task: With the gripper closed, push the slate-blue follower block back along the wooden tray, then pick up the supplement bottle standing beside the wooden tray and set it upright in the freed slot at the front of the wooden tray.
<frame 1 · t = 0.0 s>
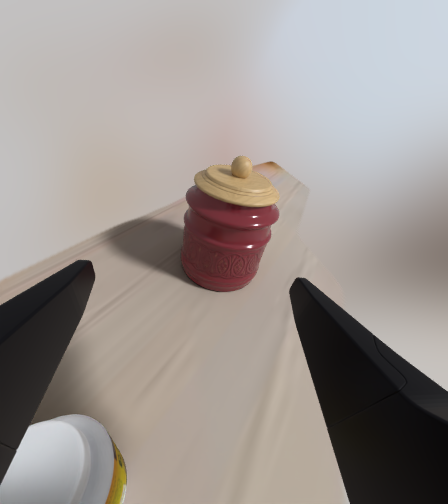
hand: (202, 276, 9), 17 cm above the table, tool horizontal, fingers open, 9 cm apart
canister: (218, 265, 35), on the table
supplement bottle: (83, 499, 14), on the table
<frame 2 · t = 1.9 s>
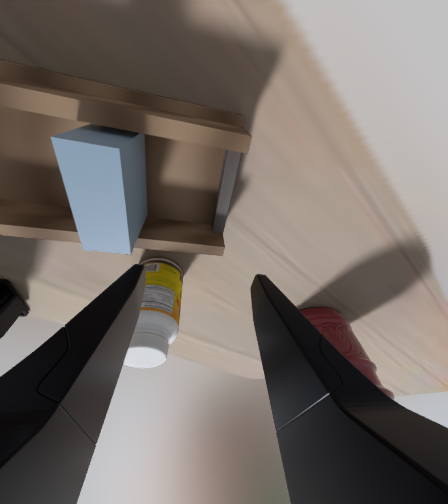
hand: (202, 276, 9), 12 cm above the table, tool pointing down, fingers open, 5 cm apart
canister: (305, 326, 37), on the table
supplement bottle: (160, 271, 25), on the table
follower: (114, 188, 14), point 4 cm above the table, slide at 0.0 cm
wooden tray: (57, 157, 16), on the table
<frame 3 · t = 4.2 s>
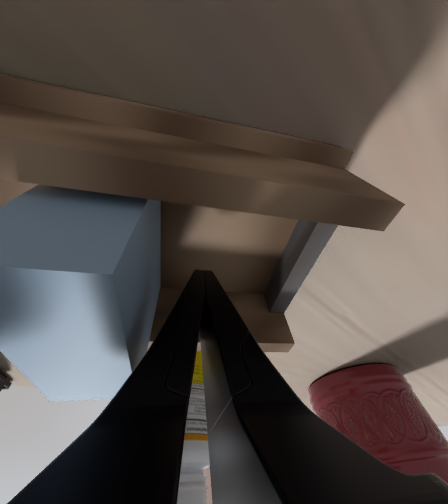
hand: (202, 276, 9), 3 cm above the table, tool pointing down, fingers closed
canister: (349, 379, 30), on the table
supplement bottle: (183, 337, 19), on the table
follower: (108, 280, 8), point 4 cm above the table, slide at 0.8 cm, touching gripper
wooden tray: (35, 213, 10), on the table
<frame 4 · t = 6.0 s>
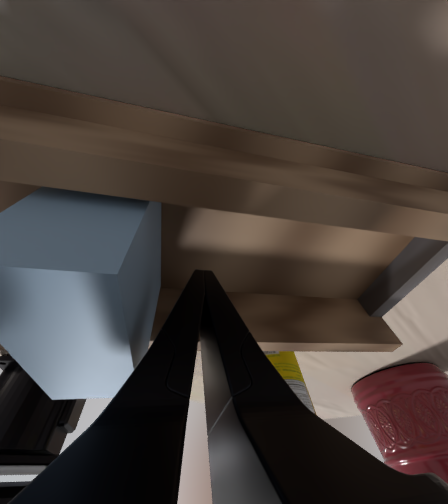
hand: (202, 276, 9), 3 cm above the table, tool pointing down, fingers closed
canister: (390, 377, 32), on the table
supplement bottle: (260, 338, 21), on the table
follower: (110, 280, 8), point 4 cm above the table, slide at 8.5 cm, touching gripper
wooden tray: (191, 231, 12), on the table
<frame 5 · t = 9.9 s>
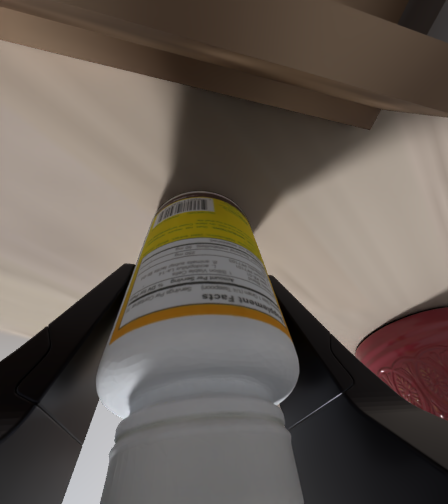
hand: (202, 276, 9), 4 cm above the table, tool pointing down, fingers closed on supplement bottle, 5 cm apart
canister: (408, 337, 23), on the table
supplement bottle: (202, 230, 12), on the table, touching gripper
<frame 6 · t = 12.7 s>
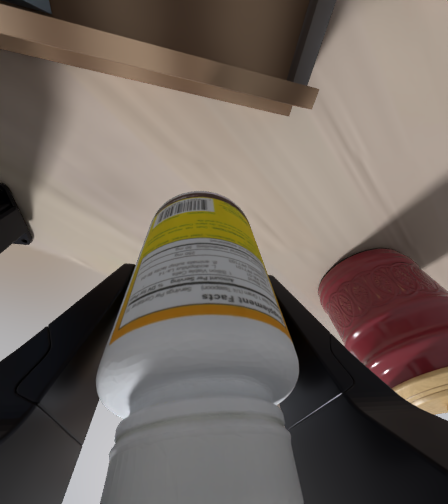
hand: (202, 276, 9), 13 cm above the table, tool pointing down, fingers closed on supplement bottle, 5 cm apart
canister: (358, 279, 31), on the table
supplement bottle: (202, 231, 12), point 9 cm above the table, touching gripper
when the fingers open (5 cm above the table, at t = 15.8 s): supplement bottle stays where it is, resting on wooden tray.
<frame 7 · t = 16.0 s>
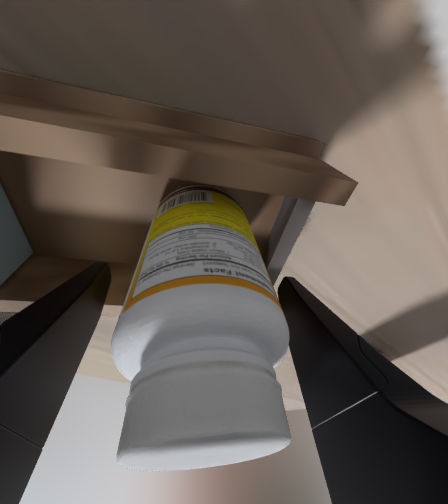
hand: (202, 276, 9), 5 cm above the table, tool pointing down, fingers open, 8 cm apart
supplement bottle: (201, 223, 13), point 1 cm above the table, touching wooden tray
wooden tray: (55, 196, 12), on the table
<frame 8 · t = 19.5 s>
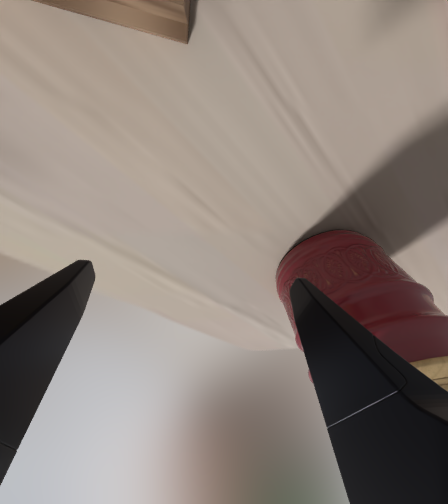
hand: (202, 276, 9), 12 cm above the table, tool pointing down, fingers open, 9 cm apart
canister: (321, 267, 27), on the table
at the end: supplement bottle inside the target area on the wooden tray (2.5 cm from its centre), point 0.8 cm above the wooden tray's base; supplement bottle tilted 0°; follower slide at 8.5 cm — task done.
